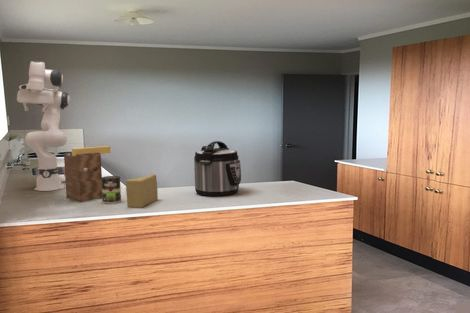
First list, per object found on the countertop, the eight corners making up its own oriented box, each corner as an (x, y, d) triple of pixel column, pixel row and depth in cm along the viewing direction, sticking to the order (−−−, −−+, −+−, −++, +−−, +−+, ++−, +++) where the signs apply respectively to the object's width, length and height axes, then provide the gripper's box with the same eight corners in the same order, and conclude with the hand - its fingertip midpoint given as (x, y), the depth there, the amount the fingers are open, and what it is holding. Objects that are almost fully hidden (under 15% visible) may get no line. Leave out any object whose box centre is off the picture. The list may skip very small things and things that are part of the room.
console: (88, 194, 273) (86, 151, 270) (103, 198, 259) (101, 152, 257) (66, 198, 263) (63, 153, 260) (81, 202, 250) (78, 154, 247)
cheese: (149, 199, 255) (148, 173, 254) (164, 200, 251) (163, 174, 250) (126, 207, 235) (125, 179, 233) (141, 208, 231) (140, 180, 229)
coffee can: (120, 203, 246) (119, 177, 244) (101, 204, 244) (100, 178, 242) (121, 199, 256) (120, 175, 254) (103, 200, 254) (102, 176, 252)
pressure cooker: (207, 199, 250) (206, 143, 246) (185, 192, 273) (183, 141, 270) (251, 193, 266) (250, 141, 263) (225, 187, 289) (224, 139, 286)
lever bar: (107, 152, 268) (106, 146, 268) (110, 153, 265) (110, 146, 265) (72, 155, 253) (71, 148, 252) (75, 156, 250) (74, 149, 250)
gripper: (56, 89, 265) (54, 112, 264) (20, 87, 263) (19, 110, 263) (52, 88, 258) (51, 111, 258) (16, 85, 256) (14, 109, 256)
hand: (34, 111), depth 260 cm, fingers open, 8 cm apart
